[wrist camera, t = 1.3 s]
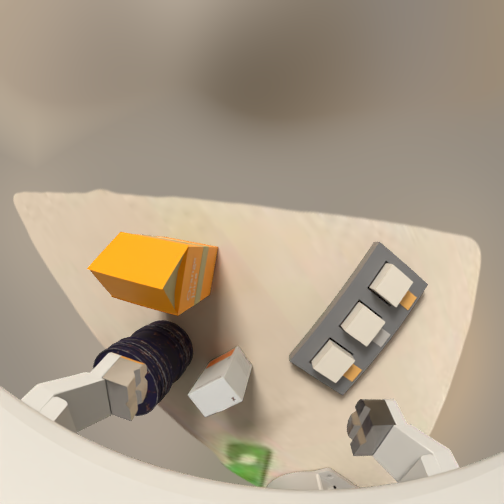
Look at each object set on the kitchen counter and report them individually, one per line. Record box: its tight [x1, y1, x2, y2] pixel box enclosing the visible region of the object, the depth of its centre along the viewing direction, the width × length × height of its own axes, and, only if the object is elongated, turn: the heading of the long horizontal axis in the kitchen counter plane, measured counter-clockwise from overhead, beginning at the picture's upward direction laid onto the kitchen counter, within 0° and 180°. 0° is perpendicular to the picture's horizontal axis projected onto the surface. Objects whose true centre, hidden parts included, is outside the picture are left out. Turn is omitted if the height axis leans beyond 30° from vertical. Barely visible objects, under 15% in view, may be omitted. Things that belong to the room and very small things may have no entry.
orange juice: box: [87, 232, 218, 316], centre depth 34 cm, size 8×9×20 cm
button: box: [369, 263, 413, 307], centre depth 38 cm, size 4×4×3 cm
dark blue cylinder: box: [93, 320, 193, 416], centre depth 37 cm, size 10×10×15 cm
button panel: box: [289, 242, 428, 395], centre depth 40 cm, size 11×22×3 cm, turn 144°
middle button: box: [341, 302, 385, 347], centre depth 38 cm, size 4×4×3 cm
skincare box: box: [188, 346, 252, 417], centre depth 38 cm, size 6×4×12 cm
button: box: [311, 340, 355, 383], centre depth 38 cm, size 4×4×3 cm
